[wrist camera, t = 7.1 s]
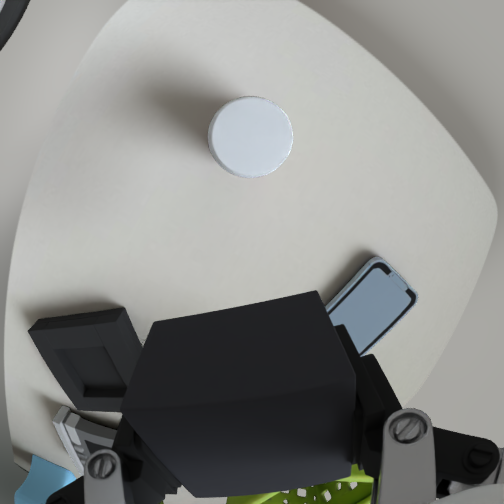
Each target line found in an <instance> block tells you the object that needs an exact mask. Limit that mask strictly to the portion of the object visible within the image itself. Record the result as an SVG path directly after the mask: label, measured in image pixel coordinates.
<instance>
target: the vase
mask: <svg viewBox="0 0 504 504" xmlns="http://www.w3.org/2000/svg"><path fill="white" fill-rule="evenodd" d="M75 480H76V478H75V476H74V475H73V473H72V472H70V471H69V470H67V469H65V468H63V467H60V466H58V465H55V464H53V463H51V462H49V461H46V460H44V459H42V458H40V457H38V456H36V455H34V454H33V456H32V463H31V468H30V471H29V474H28V477H27V478H26V480H25V481H24V483H23V484H22V485H21V487H20V488H19V489H18V490H17V491H16V493H15V504H45V503H46V500H47V499H48V497H49V496H50V495H51V494H53V493H54V492H56V491H58V490H59V489H61V488H63V487H65V486H66V485H68V484H70V483H71V482H73V481H75Z"/></svg>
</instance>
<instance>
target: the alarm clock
mask: <svg viewBox="0 0 504 504" xmlns="http://www.w3.org/2000/svg"><path fill="white" fill-rule="evenodd" d="M53 424H54V426H55V428H56V430H57V432H58V434H59V436H60V438H61V440H62V442H63V444H64V446H65V448H66V450H67V452H68V454H69V456H70V458H71V459H72V461H73V463H74V465H75V467H76V468H77V470H78V472H79V473H80V475H82V476H83V475H84V464H85V462H86V460H87V458H88V457H89V456H90V455H91V454H93V453H94V452H96V451H98V450H103V449H108V450H111V448H112V445H113V442H114V439H115V436H116V433H117V430H114V429H110V428H107V427H104V426H100V425H97V424H95V423H92V422H90V421H87V420H85V419H82V418H81V417H80V416H79V415H76V414H74V413H72V412H71V411H70V408H68V407H66V406H64V405H62V407H61V408H60V410H59V411H58V413H57V414H56V416H55V418H54V419H53Z"/></svg>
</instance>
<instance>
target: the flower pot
mask: <svg viewBox="0 0 504 504" xmlns="http://www.w3.org/2000/svg"><path fill="white" fill-rule="evenodd" d="M351 482H357V486H356V487H355V488H354V489H353V490H352V488H351V486H350V483H351ZM339 483H341V489H339V490H338V484H339ZM372 483H373V478H372V477H370V476H367V475H365V472H364V470H360V471H359V469H358V465H357V464H354V465H352V468H351V476H350V477H347V478H343V479H340V480H336V481H332V482H327V483H323V484H318V485H314V486H313V487H311V486H309V487H304V488H301V489H305V490H306V497H301V496H298V495H297V489H293V490H289V493H283V492H281V491H280V492H273V493H265V494H256V495H246V496H232V497H227V503H226V504H285V503H284V502H283V501H284V500H285V499H286V500H287V502H288V504H304V503H306V504H370V500H371V492H372ZM327 490H328V491H329V493H330V494H331V499H330V500H329V501H328V502H327V500H326V498H325V496H324V493H325V492H326V491H327ZM314 496H315V497H316V499H315V500H314Z"/></svg>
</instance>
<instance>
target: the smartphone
mask: <svg viewBox="0 0 504 504" xmlns="http://www.w3.org/2000/svg"><path fill="white" fill-rule="evenodd" d="M417 301H418V294H417V292H416V291H415V290H414V289H413V288H412V287H411V286H410V285H409V284H408V283H407V282H406V281H405V280H404V279H403V278H402V277H401V276H400V275H399V274H398V273H397V272H396V271H395V270H394V269H393V268H392V267H391V266H390V265H389V264H388V263H387V262H386V261H385V260H383V259H382V258H380V257H374V258H372V259H370V260H369V261H368V262H367V263H366V264H365V265H364V266H363V267H362V268H361V270H360V271H359V272H358V273H357V274H356V275H355V276H354V277H353V278H352V279H351V280H350V281H349V283H348V284H347V285H346V286H345V287H344V288H343V289H342V290H341V291H340V292H339V293H338V294H337V295H336V296H335V297H334V298H333V299H332V300H331V301H330V302H329V303H328V304H327V305H326V306H325V308H326V310H327V312H328V315H329V317H330V319H331V321H332V323H333V325H334V326H336V325H340V324H344V325H345V327H346V329H347V331H348V333H349V335H350V337H351V339H352V341H353V343H354V345H355V347H356V349H357V351H358V353H359V355H360V357H362V356H364V355H365V354H366V353H367V352H368V351H369V350H370V349H371V348H372V347H373V346H375V345H376V344H377V343H378V342H379V341H380V340H381V339H382V338H383V337H384V336H385V335H386V334H387V333H388V332H389V331H390V330H391V329H392V328H393V327H394V326H395V325H396V324H397V323H398V322H399V321H400V320H401V319H402V318H403V317H404V316H405V315H406V314H407V313H408V312H409V311H410V310H411V309H412V308H413V307H414V306H415V304H416V303H417Z"/></svg>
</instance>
